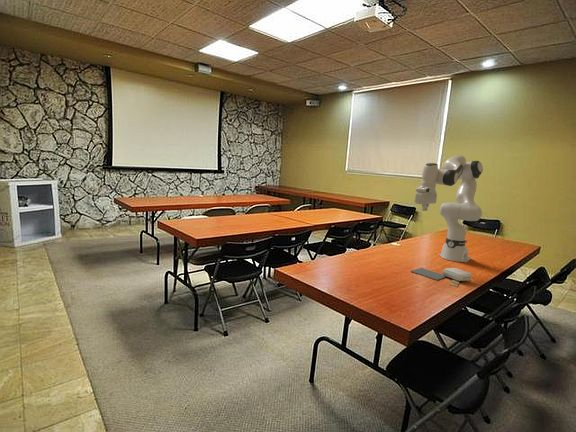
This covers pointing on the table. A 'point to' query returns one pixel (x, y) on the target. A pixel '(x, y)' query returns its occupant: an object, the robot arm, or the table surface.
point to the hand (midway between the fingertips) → (424, 210)
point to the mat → (429, 274)
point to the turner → (454, 283)
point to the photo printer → (457, 274)
